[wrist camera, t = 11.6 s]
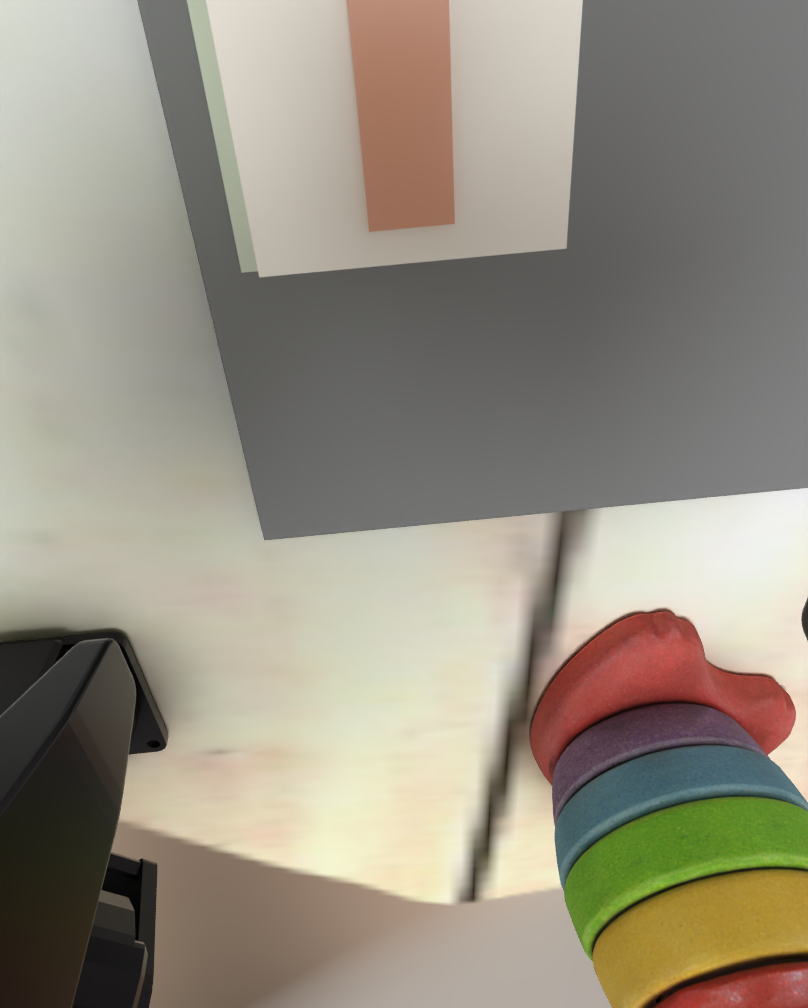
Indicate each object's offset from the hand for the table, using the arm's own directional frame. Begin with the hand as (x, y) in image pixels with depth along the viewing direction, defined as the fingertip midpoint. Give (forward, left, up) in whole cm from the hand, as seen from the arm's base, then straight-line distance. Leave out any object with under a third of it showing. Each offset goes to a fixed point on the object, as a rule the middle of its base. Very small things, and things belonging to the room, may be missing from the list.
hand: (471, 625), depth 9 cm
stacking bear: (-19, -9, -12) cm, 24 cm away
